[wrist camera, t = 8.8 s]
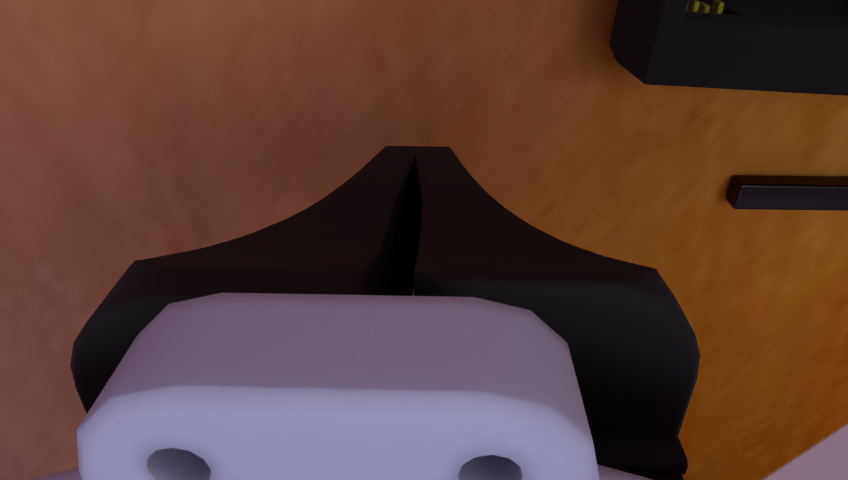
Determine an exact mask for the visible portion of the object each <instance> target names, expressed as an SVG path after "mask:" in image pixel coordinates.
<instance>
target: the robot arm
mask: <svg viewBox="0 0 848 480" xmlns="http://www.w3.org/2000/svg"><path fill="white" fill-rule="evenodd" d="M413 290H414V296H413ZM699 360H700V354H699V350H698V345H697V341H696V337H695V333H694V332H693V330H692V328H691V326H690V324H689V322H688V320H687V318H686V316H685V314H684V312H683V311H682V309H681V307H680V305H679V304H678V302H677V300H676V299H675V297H674V295H673V294H672V292H671V291H670V289H669V288H668V286H667V285H666V283H665V282H664V281H663V279H662V278H661V276H660V275H659V273H658V272H657V270H656V269H654V268H649V267H645V266H641V265H637V264H633V263H629V262H625V261H621V260H617V259H613V258H608V257H605V256H602V255H599V254H596V253H593V252H590V251H587V250H584V249H581V248H579V247H576V246H573V245H571V244H568V243H566V242H564V241H561V240H559V239H557V238H555V237H553V236H551V235H549V234H547V233H545V232H543V231H541V230H539V229H537V228H535V227H533V226H531V225H530V224H528V223H526V222H525V221H523V220H522V219H520V218H519V217H517V216H516V215H514V214H513V213H511V212H510V211H508V210H507V209H506V208H504V207H503V206H502V205H500V204H499V203H498V202H497V201H496V200H495V199H493V198H492V197H491V196H490V195H489V194H488V193H487V192H486V191H484V190H483V188H482V187H481V186H480V185H479V184H478V183H477V182H476V181H475V180H474V178H473V177H472V176H471V175H470V174H469V173H468V171H467V170H466V169H465V167H464V166H463V165H462V164H461V162H460V161H459V159H458V158H457V156H456V155H455V153H454V152H453V151H452V150H451V149H450V148H449V147H421V146H386V147H385V148H383V149H382V150H381V151H380V152H379V153H378V154H377V155H376V156H375V157H374V158H373V159H372V160H370V161H369V162H368V163H367V164H366V165H365V166H364V167H363V168H362V169H361V170H360V171H358V172H357V173H356V174H355V175H354V176H353V177H352V178H350V179H349V180H348V181H346V182H345V183H344V184H342V185H341V186H340V187H338V188H337V189H336V190H334V191H333V192H332V193H330V194H329V195H328V196H326V197H325V198H323V199H322V200H320V201H319V202H317V203H315V204H314V205H312V206H310V207H308V208H307V209H305V210H303V211H301V212H299V213H297V214H296V215H294V216H292V217H290V218H288V219H285V220H283V221H281V222H278V223H276V224H273V225H271V226H269V227H266V228H264V229H261V230H259V231H257V232H254V233H252V234H249V235H246V236H243V237H240V238H237V239H233V240H230V241H227V242H223V243H220V244H216V245H213V246H209V247H205V248H201V249H197V250H192V251H187V252H182V253H177V254H171V255H166V256H161V257H155V258H150V259H144V260H137V261H134V262H133V263H132V265H131V266H130V267H129V268H128V269H127V271H126V272H125V273H124V274H123V276H122V277H121V278H120V279H119V281H118V282H117V283H116V285H115V286H114V287H113V288H112V290H111V291H110V292H109V294H108V295H107V296H106V298H105V299H104V300H103V302H102V303H101V304H100V305H99V307H98V308H97V309H96V311H95V312H94V313H93V315H92V316H91V317H90V319H89V320H88V321H87V323H86V324H85V325H84V327H83V329H82V330H81V332H80V334H79V335H78V337H77V339H76V340H75V342H74V344H73V351H72V358H71V370H72V374H73V378H74V382H75V386H76V389H77V392H78V394H79V397H80V399H81V401H82V404H83V406H84V408H85V411H86V413H87V415H86V417H85V418H84V420H83V421H82V423H81V424H80V426H79V427H78V429H77V446H78V465H79V468H75V469H71V470H67V471H63V472H59V473H55V474H51V475H47V476H43V477H38V478H34V479H30V480H684V479H683V477H682V474H685V473H686V470H687V467H688V466H687V458H686V455H685V453H684V450H683V448H682V445H681V443H680V441H679V438H678V434H679V431H680V428H681V425H682V422H683V419H684V416H685V413H686V410H687V407H688V404H689V401H690V398H691V395H692V392H693V389H694V386H695V383H696V380H697V374H698V367H699Z"/></svg>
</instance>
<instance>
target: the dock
mask: <svg viewBox="0 0 848 480" xmlns="http://www.w3.org/2000/svg"><path fill="white" fill-rule="evenodd" d="M726 199H727V201H728V202H729V203H730V205H731V206H732V207H733V208H735V209H780V210H848V177H782V176H733V177H732V180H731V184H730V187H729V190H728V194H727V197H726Z"/></svg>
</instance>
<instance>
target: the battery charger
mask: <svg viewBox="0 0 848 480" xmlns="http://www.w3.org/2000/svg"><path fill="white" fill-rule="evenodd" d="M610 47H611V49H612V52H613V54H614V56H615V59H616V61H617V62H618V63H619V64H620V65H621V66H623V67H624V68H625V69H626V70H628V71H629V72H630V73H632V74H633V75H634V76H635V77H637V78H638V79H639V80H640V81H642V82H643V83H644V84H651V85H669V86H687V87H705V88H723V89H741V90H759V91H777V92H794V93H812V94H830V95H848V0H619V2H618V6H617V11H616V16H615V21H614V26H613V31H612V35H611V40H610Z"/></svg>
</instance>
